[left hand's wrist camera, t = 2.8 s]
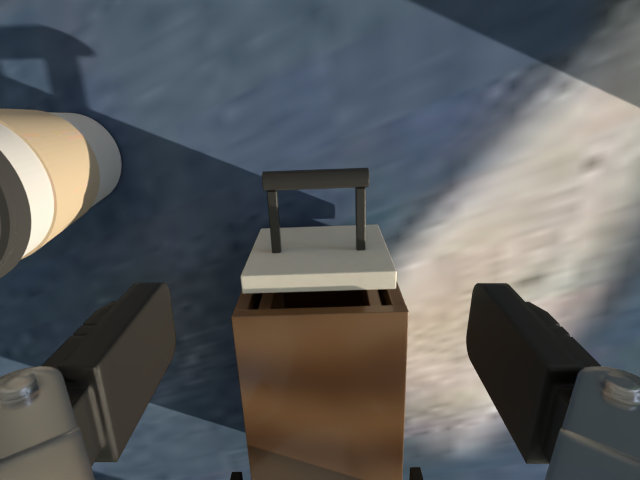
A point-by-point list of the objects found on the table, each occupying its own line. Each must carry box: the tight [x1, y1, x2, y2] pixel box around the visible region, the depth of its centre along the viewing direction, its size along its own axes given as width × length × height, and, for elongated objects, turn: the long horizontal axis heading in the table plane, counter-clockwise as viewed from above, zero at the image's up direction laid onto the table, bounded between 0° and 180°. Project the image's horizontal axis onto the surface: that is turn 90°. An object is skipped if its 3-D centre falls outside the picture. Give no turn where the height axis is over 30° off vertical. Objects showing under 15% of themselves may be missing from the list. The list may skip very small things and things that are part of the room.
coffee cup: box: [0, 109, 121, 278], centre depth 25 cm, size 9×9×15 cm
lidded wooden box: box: [231, 281, 409, 480], centre depth 33 cm, size 20×10×11 cm, turn 2°
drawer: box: [241, 168, 396, 309], centre depth 31 cm, size 25×9×9 cm, turn 2°
